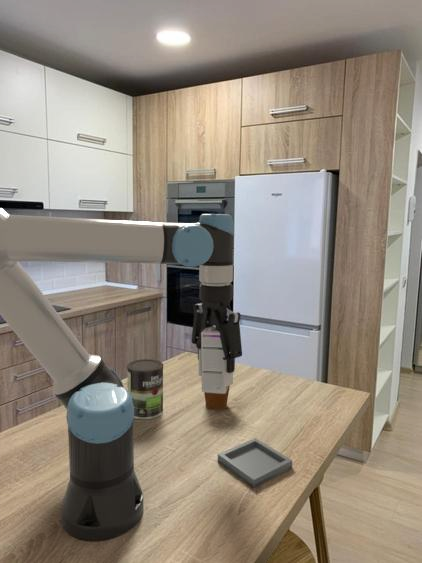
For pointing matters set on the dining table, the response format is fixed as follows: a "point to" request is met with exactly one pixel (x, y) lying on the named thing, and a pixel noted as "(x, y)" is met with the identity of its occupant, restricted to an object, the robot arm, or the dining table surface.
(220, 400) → the disposable coffee cup
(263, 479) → the tray
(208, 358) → the syrup box
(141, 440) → the dining table surface
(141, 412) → the coffee can
